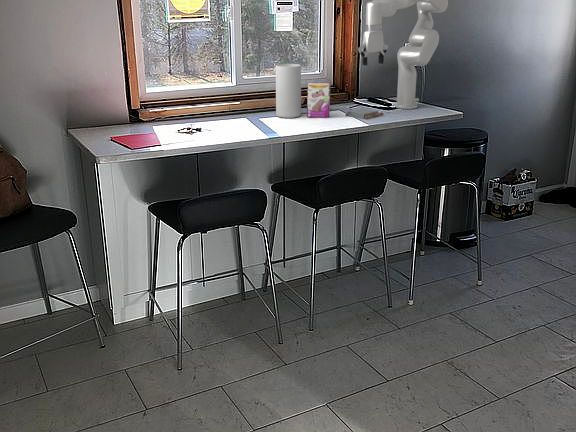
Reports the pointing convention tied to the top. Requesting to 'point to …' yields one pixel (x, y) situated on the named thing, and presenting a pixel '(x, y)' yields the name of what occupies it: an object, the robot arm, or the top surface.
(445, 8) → the robot arm
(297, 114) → the cylinder vase
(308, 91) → the candy bar box
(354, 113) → the steel cover plate
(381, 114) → the pair of brown sticks
